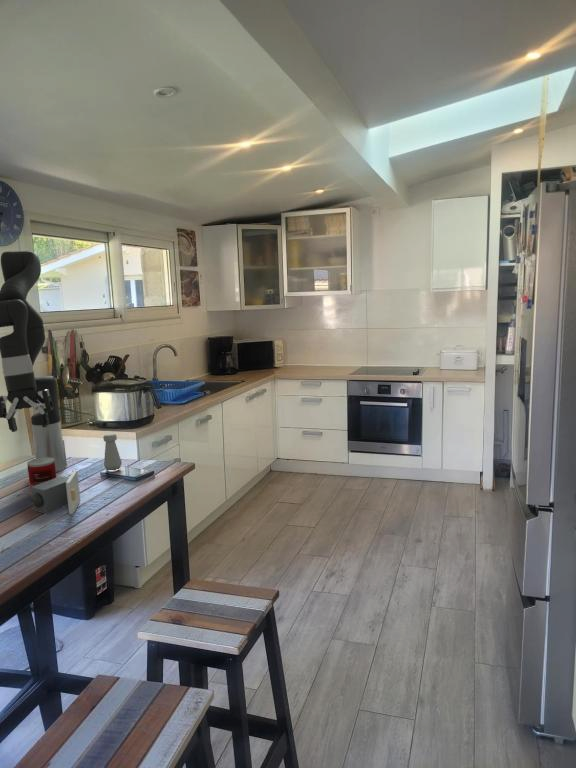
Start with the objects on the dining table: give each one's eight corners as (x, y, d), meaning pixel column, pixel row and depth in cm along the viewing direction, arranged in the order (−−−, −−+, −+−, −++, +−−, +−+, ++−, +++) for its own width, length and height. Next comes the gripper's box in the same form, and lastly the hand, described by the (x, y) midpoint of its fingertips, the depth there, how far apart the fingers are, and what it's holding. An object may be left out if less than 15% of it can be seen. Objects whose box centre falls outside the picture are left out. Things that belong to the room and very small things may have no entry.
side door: (76, 500, 165) (73, 471, 164) (83, 500, 166) (79, 470, 164) (69, 514, 155) (65, 482, 154) (76, 513, 156) (72, 482, 154)
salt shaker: (125, 469, 194) (122, 432, 192) (112, 474, 189) (108, 437, 187) (114, 466, 197) (110, 431, 195) (101, 471, 192) (97, 435, 190)
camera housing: (66, 496, 170) (63, 467, 168) (80, 499, 167) (76, 470, 165) (31, 511, 160) (27, 480, 158) (44, 514, 157) (40, 483, 155)
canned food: (47, 488, 177) (43, 455, 176) (64, 492, 173) (60, 458, 171) (25, 497, 171) (21, 462, 169) (42, 501, 167) (37, 466, 165)
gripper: (49, 367, 159) (60, 423, 161) (-2, 374, 158) (10, 430, 161) (39, 370, 152) (50, 428, 154) (-14, 377, 151) (-2, 435, 153)
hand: (30, 429), depth 157 cm, fingers open, 8 cm apart
